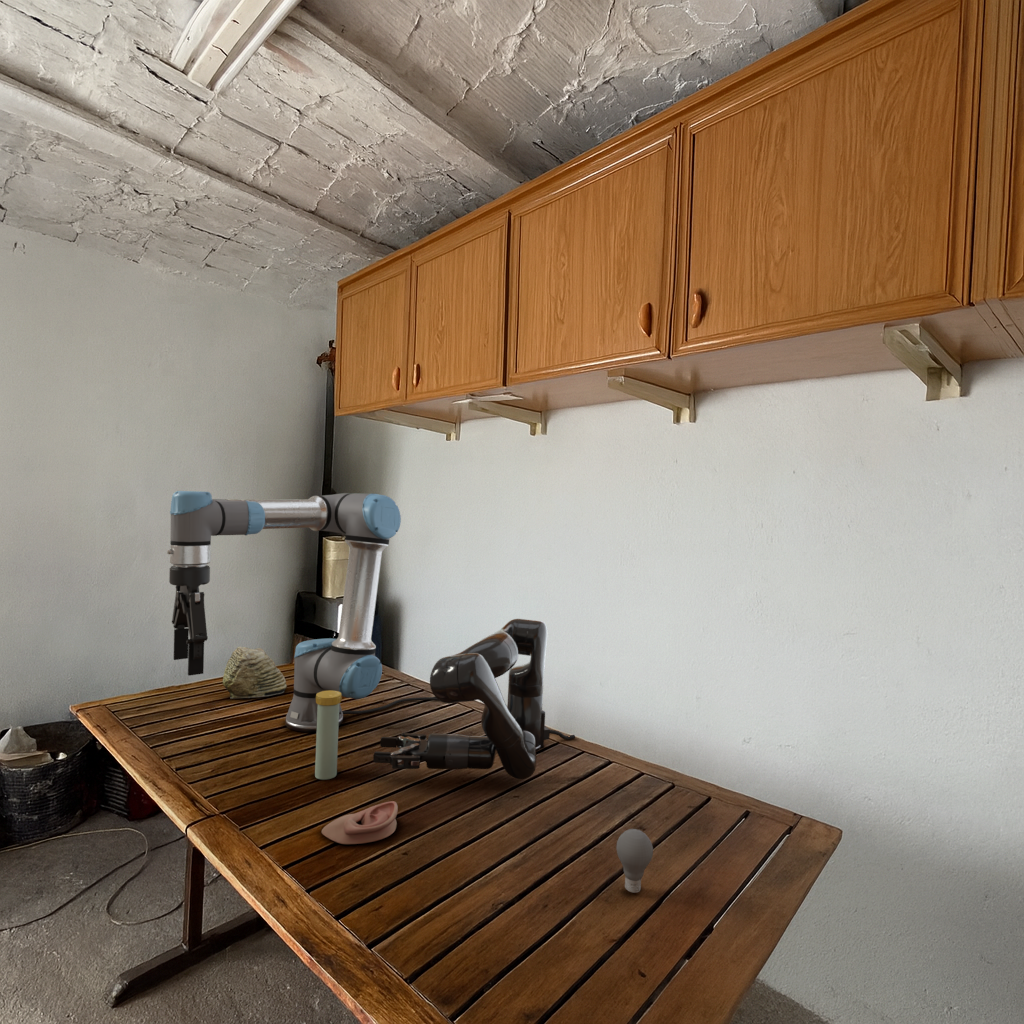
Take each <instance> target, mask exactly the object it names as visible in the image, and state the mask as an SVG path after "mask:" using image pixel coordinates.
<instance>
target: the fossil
mask: <svg viewBox="0 0 1024 1024" xmlns="http://www.w3.org/2000/svg"><path fill="white" fill-rule="evenodd" d="M222 676H223V677H222V685H223V687H224V688H225V690H226V691H228V693H229V698H230V699H250V698H264V697H271V696H275V695H281V694H284V693H285V691H286V689H287V687H288V686H287V680H286V678H285V676H284V674H283V673H282V672H281V669H279V668H278V667H277V665H276V663H275V662H274V660H273V659H272V658H271V657H270V656H269V655H268V654H267V653H266V652H265V650H264V649H263V648H260V647H258V648H251V647H247V646H246V647H245V646H238V647H237V648H236V649H235V650H233V651H232V653H231V656H230V657H229V659H228V660H227V663H226V666H225V668H224V671H223V675H222Z"/></svg>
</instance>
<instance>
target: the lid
mask: <svg viewBox="0 0 1024 1024" xmlns="http://www.w3.org/2000/svg"><path fill="white" fill-rule="evenodd" d="M342 698H343V696H342V695H341V692H339V691H333V690H329V691H322V692H319V693H317V694H316V703H317V704H318V705H323V706H330V705H336V704H339V703H340V704H341V703H342V700H343V699H342Z"/></svg>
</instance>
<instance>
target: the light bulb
mask: <svg viewBox="0 0 1024 1024" xmlns="http://www.w3.org/2000/svg"><path fill="white" fill-rule="evenodd" d="M615 849H616V854H617V857H618V859H619V861H620V863H621V865H622V867H623V873H624V874H623V875H624V876H625V878H624V888H625V890H627V891H628V892H630V893H634V894H635V893H639V892H640V891H641V889H642V887H641V886H642V879H643V877H644V875H645V871H646V868H647V867H648V866H649V864H650V863H651V861H652V859H653V855H654V847H653V843H652V841H651V838H649V836H648V835H647V834H646V833H645V832H643V831H642V830H641V829H636V828H629V829H627V830H625V831H623V832H622V833H621V834H620V835H619V837H618V839H617V841H616V847H615Z"/></svg>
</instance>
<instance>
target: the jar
mask: <svg viewBox="0 0 1024 1024" xmlns="http://www.w3.org/2000/svg"><path fill="white" fill-rule="evenodd" d="M339 726H340V725H339V704H336V705H330V706H323V705H318V708H317V732H316V733H315V735H316V736H315V763H314V776H315V778H316V779H318V780H324V781H325V780H330V779H334V778H335V777H336V776H337V775H338V752H339V751H338V750H339V749H338V748H339Z"/></svg>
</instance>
